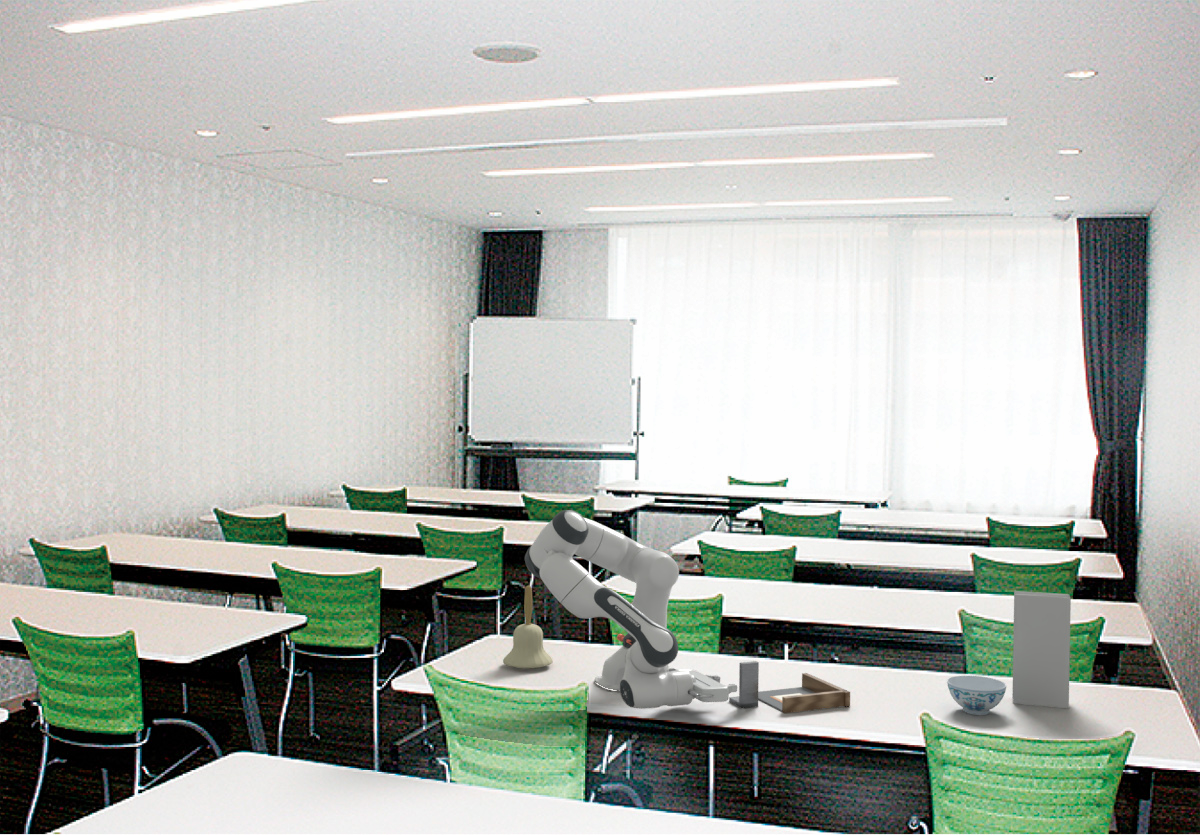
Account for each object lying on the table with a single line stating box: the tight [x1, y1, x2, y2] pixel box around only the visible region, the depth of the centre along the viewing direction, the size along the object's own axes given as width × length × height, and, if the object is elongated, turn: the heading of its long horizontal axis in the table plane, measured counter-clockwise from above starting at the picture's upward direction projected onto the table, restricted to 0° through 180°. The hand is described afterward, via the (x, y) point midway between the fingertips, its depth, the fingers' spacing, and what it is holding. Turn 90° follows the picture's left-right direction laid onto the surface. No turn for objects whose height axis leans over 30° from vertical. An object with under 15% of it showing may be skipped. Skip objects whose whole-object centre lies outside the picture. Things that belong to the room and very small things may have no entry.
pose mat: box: [758, 686, 815, 712], centre depth 307 cm, size 18×18×1 cm
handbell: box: [502, 585, 554, 669], centre depth 341 cm, size 15×15×25 cm
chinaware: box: [946, 675, 1007, 716], centre depth 297 cm, size 15×15×8 cm
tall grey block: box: [1011, 590, 1072, 709], centre depth 305 cm, size 14×6×30 cm, turn 71°
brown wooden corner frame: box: [781, 672, 851, 714], centre depth 307 cm, size 20×22×4 cm
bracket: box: [728, 660, 760, 709], centre depth 302 cm, size 7×5×12 cm
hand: (727, 683), depth 297 cm, fingers open, 8 cm apart
